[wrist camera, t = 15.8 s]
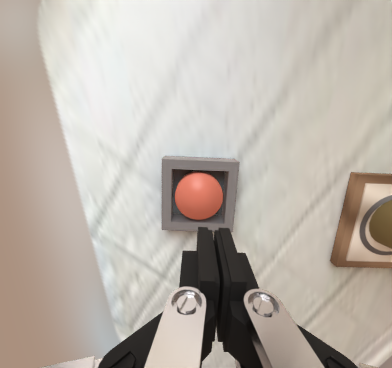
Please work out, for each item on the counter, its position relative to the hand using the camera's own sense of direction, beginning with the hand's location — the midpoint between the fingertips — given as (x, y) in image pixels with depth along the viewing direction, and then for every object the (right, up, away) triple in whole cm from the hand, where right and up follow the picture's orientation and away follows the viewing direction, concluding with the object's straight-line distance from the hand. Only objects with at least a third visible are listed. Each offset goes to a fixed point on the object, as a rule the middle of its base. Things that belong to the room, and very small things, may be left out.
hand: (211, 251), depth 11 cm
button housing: (0, +3, +14) cm, 14 cm away
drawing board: (+23, -1, +15) cm, 27 cm away
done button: (-1, +3, +13) cm, 13 cm away
